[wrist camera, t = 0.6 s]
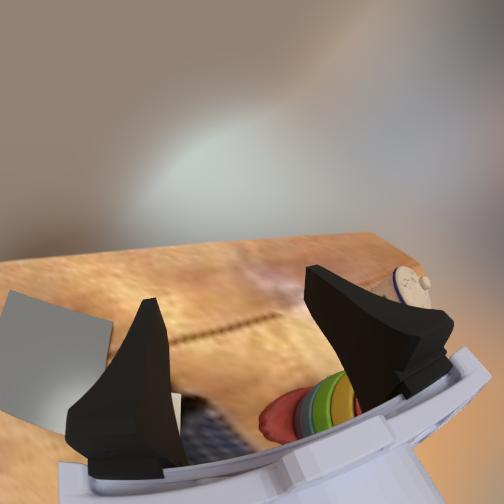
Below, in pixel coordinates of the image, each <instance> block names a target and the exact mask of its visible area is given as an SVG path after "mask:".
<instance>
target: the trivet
mask: <svg viewBox="0 0 504 504" xmlns="http://www.w3.org/2000/svg"><path fill="white" fill-rule="evenodd" d="M112 328H113V322H112V321H108V320H104V319H101V318H97V317H93V316H90V315H86V314H82V313H79V312H76V311H72V310H69V309H66V308H62V307H59V306H56V305H53V304H50V303H47V302H44V301H41V300H38V299H35V298H32V297H29V296H27V295H24V294H21V293H18V292H16V291H13V290H10V291H9V294H8V297H7V300H6V302H5V305H4V308H3V311H2V314H1V317H0V410H1V411H3V412H5V413H8V414H10V415H12V416H14V417H17V418H19V419H21V420H24V421H26V422H29V423H31V424H34V425H36V426H39V427H42V428H45V429H48V430H50V431H53V432H56V433H60V434H63V435H65V429H66V417H67V412H68V409H69V408H70V407H71V406H72V405H73V404H75V403H76V402H77V401H78V400H79V399H80V398H81V397H82V396H83V395H84V394H85V393H86V392H87V391H88V390H89V389H90V388H91V387H92V386H93V385H94V384H95V382H96V381H97V380H98V379H99V378H100V376H101V375H102V374H103V372H104V371H105V370H106V364H107V357H108V351H109V345H110V339H111V334H112Z"/></svg>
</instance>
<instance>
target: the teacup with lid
mask: <svg viewBox="0 0 504 504" xmlns="http://www.w3.org/2000/svg"><path fill="white" fill-rule="evenodd" d="M430 285H431V284H430V281H429V279H428V278H427V277H426V276H423V277H420V276H419V275H417V274H416V273H415V272H414V271H413V270H411V269H410V268H408V267H405V266H401V267H398V268H396V269H395V270H394V272H393V273H392V274H391V275H390V276H388V277H387V278H386V279H385V280H383V281H382V282H381V283H379V284H378V285H377V286H376V287H374V288H373V289H372V290H370V291H369V292H371V293H374V294H376V295H379V296H381V297H384V298H386V299H389V300H392V301H396V302H399V303H403V304H406V305H411V306H415V307H420V308H426V309H431V299H430V296H429V291H428V288H429V287H430Z"/></svg>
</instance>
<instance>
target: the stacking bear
mask: <svg viewBox="0 0 504 504" xmlns="http://www.w3.org/2000/svg"><path fill="white" fill-rule="evenodd" d="M361 414H362V412H361V409H360V406H359V403H358V400H357V398H356V395H355V393H354V390H353V388H352V385H351V383H350V381H349V379H348V376H347V374H346V372H345V371H341V372H338V373H336V374H334V375H331V376H329V377H327V378H326V379H324V380H322V381H321V382H320V383H318V384H317V385H316V386H314V387H307V388H301V389H297V390H294V391H291V392H289V393H286V394H284V395H283V396H281V397H279V398H278V399H276V400H275V401H274V402H272V403H271V404H270V405H269V406H268V407H267V408H266V409H265V410H264V411H263V413H262V414H261V416H260V430H261V432H262V433H263V434H264V436H265V437H266V438H267V439H268V440H270V441H273V442H277V443H280V444H282V445H285V444H288V443H291V442H294V441H297V440H300V439H303V438H306V437H309V436H311V435H314V434H317V433H319V432H322V431H325V430H327V429H330V428H332V427H334V426H337V425H339V424H342V423H344V422H346V421H348V420H351V419H353V418H355V417H357V416H359V415H361Z"/></svg>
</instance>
